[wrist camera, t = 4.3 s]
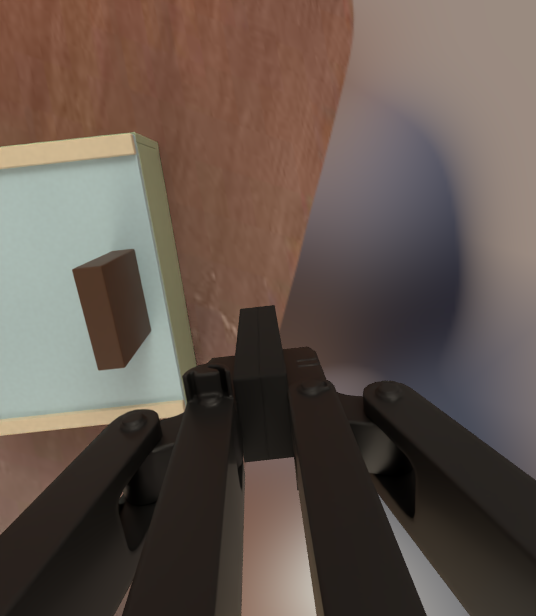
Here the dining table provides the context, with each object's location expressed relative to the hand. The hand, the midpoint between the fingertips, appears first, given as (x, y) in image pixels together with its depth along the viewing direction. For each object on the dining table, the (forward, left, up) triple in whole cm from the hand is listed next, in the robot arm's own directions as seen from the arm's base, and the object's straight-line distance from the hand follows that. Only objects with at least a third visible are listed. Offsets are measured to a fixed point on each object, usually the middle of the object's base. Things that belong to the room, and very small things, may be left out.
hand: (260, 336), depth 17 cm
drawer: (+15, 0, -11) cm, 19 cm away
